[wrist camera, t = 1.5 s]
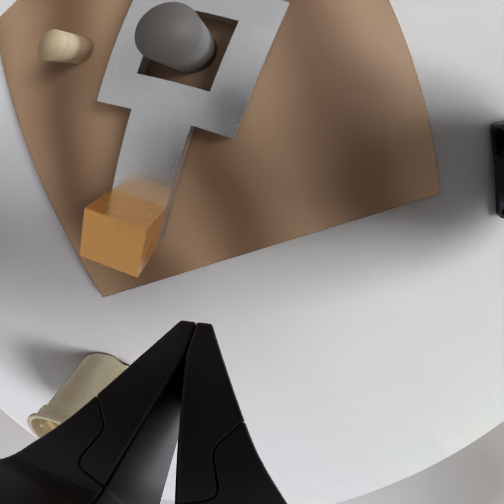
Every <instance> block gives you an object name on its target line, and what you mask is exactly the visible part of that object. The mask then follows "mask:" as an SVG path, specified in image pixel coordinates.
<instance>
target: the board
mask: <svg viewBox="0 0 504 504" xmlns="http://www.w3.org/2000/svg"><path fill="white" fill-rule="evenodd" d="M283 1H286V2H289V3H290V4H289V7H288V11H287V13H286V15H285V17H284V20H283V22H282V24H281V26H280V29H279V31H278V33H277V35H276V38H275V40H274V42H273V45H272V47H271V49H270V52H269V54H268V56H267V59H266V61H265V63H264V66H263V68H262V71H261V73H260V76H259V78H258V80H257V83H256V85H255V88H254V90H253V93H252V95H251V98H250V101H249V103H248V106H247V108H246V111H245V113H244V116H243V119H242V121H241V124H240V126H239V129H238V132H237V134H236V137H235V138H234V139H232V138H229V137H226V136H223V135H220V134H217V133H214V132H211V131H208V130H204V129H201V128H198V127H195V129H194V132H193V135H192V138H191V141H190V144H189V147H188V151H187V154H186V157H185V160H184V163H183V167H182V170H181V173H180V176H179V180H178V183H177V187H176V190H175V194H174V197H173V201H172V204H171V208H170V212H169V215H168V219H167V223H166V227H165V231H164V235H163V239H162V241H161V242H160V244H159V245H158V247H157V248H156V250H155V251H154V253H153V254H152V256H151V257H150V259H149V260H148V262H147V263H146V265H145V266H144V268H143V269H142V271H141V273H140V274H139V276H138V277H134V276H132V275H129V274H126V273H124V272H121V271H118V270H116V269H113V268H111V267H108V266H105V265H103V264H100V263H98V262H95V261H93V260H90V259H88V258H85V257H83V256H80V249H81V236H82V226H83V217H84V209H85V207H86V206H88V205H89V204H91V203H92V202H94V201H95V200H97V199H98V198H100V197H101V196H103V195H104V194H106V193H107V192H109V191H110V190H112V188H113V183H114V178H115V173H116V168H117V164H118V159H119V155H120V151H121V147H122V142H123V139H124V135H125V131H126V127H127V123H128V120H129V116H130V113H131V109H130V108H125V107H121V106H117V105H113V104H108V103H104V102H99V101H97V99H98V95H99V91H100V88H101V85H102V81H103V78H104V75H105V72H106V68H107V65H108V62H109V59H110V57H111V54H112V51H113V48H114V45H115V43H116V40H117V37H118V35H119V32H120V30H121V27H122V25H123V22H124V20H125V18H126V15H127V13H128V11H129V8H130V6H131V4H132V2H133V0H17V1H16V2H15V3H14V4H13V5H12V6H11V7H10V8H9V9H8V10H7V11H6V12H5V13H4V14H3V15H2V16H1V17H0V53H1V58H2V62H3V67H4V71H5V75H6V79H7V83H8V87H9V91H10V95H11V98H12V102H13V105H14V109H15V112H16V115H17V118H18V121H19V124H20V127H21V130H22V133H23V136H24V139H25V142H26V144H27V147H28V150H29V152H30V155H31V158H32V160H33V163H34V165H35V168H36V170H37V173H38V175H39V177H40V180H41V182H42V184H43V187H44V189H45V191H46V193H47V196H48V198H49V200H50V202H51V204H52V206H53V208H54V211H55V213H56V215H57V217H58V219H59V221H60V223H61V225H62V227H63V229H64V231H65V233H66V234H67V236H68V238H69V240H70V242H71V244H72V246H73V248H74V249H75V251H76V253H77V255H78V257H79V258H80V260H81V262H82V264H83V265H84V267H85V269H86V271H87V272H88V274H89V276H90V277H91V279H92V281H93V282H94V284H95V286H96V287H97V289H98V290H99V292H100V294H101V295H102V297H106V296H109V295H112V294H116V293H119V292H122V291H125V290H129V289H132V288H135V287H138V286H142V285H145V284H148V283H151V282H155V281H158V280H161V279H164V278H168V277H171V276H174V275H177V274H181V273H184V272H187V271H190V270H194V269H197V268H200V267H203V266H207V265H210V264H213V263H216V262H220V261H223V260H226V259H229V258H233V257H236V256H239V255H242V254H246V253H249V252H252V251H256V250H259V249H262V248H265V247H269V246H272V245H275V244H278V243H282V242H285V241H288V240H291V239H295V238H298V237H301V236H304V235H308V234H311V233H314V232H317V231H321V230H324V229H327V228H330V227H334V226H337V225H340V224H344V223H347V222H350V221H353V220H357V219H360V218H363V217H366V216H370V215H373V214H376V213H379V212H383V211H386V210H389V209H392V208H396V207H399V206H402V205H405V204H409V203H412V202H415V201H419V200H422V199H425V198H428V197H432V196H435V195H438V194H441V193H440V184H439V176H438V169H437V162H436V156H435V150H434V145H433V139H432V134H431V129H430V124H429V120H428V115H427V111H426V107H425V103H424V99H423V95H422V91H421V88H420V84H419V81H418V77H417V74H416V71H415V67H414V64H413V61H412V58H411V55H410V52H409V49H408V46H407V44H406V41H405V38H404V35H403V33H402V30H401V28H400V25H399V23H398V20H397V18H396V15H395V13H394V11H393V8H392V6H391V4H390V2H389V0H283ZM235 29H236V26H233V25H230V24H226V23H222V22H218V21H214V20H210V19H205V18H201V17H199V16H198V15H197V13H196V12H195V11H194V10H193V9H192V8H191V7H190V6H188V5H186V4H183V3H180V2H166V3H162V4H159V5H157V6H155V7H153V8H151V9H150V10H149V11H147V12H146V13H145V14H144V15H143V16H142V18H141V19H140V20H139V22H138V24H137V26H136V29H135V34H134V39H135V44H136V47H137V49H138V50H139V52H140V53H141V54H142V55H144V56H145V57H147V58H149V59H151V63H150V66H149V68H148V71H147V74H146V75H147V76H151V77H156V78H160V79H164V80H168V81H172V82H176V83H180V84H184V85H188V86H191V87H195V88H199V89H202V90H206V91H209V92H210V90H211V87H212V85H213V82H214V80H215V77H216V74H217V72H218V69H219V67H220V64H221V62H222V59H223V57H224V55H225V52H226V50H227V47H228V45H229V43H230V40H231V38H232V36H233V33H234V31H235Z"/></svg>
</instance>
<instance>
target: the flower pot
mask: <svg viewBox="0 0 504 504" xmlns="http://www.w3.org/2000/svg"><path fill="white" fill-rule="evenodd" d="M128 367H129V366H128V365H124V364H122V363H121V362H119V361H118V360H117V359H116V358H115V357H113V356H110V355H106V354H100V353H94V354H90V355H87V356H86V357H85V358H84V359H83V360H82V362H81V363H80V364H79V366H78V367H77V368H76V369H75V371H74V372H73V373H72V374H71V376H70V377H69V378H68V379H67V381H66V382H65V383H64V384H63V386H62V387H61V388H60V389H59V391H58V392H57V393H56V394H55V396H54V397H53V398H52V399H51V401H50V402H49V403H48V404H47V405H44V406H43V407H42V408H41V409H40V410H39V411H38V413H33V414H31V415H30V416H29V417H28V425H29V427H30V429H31V430H32V432H33V433H34V434H35V435H36V436H37V438H38V439H39V438H41V437H42V436H44V435H45V434H47V433H48V432H50V431H51V430H53V429H54V428H56V427H57V426H58V425H60V424H61V423H63V422H64V421H65V420H67V419H68V418H70V417H71V416H72V415H73V414H75V413H76V412H77V411H78V410H79V409H81V408H82V407H83V406H84V405H85V404H87V403H88V402H89V401H90V400H91V399H92V398H93V397H95V396H96V397H97V394H98V393H99V392H100V391H102V390H103V389H104V388H105V387H106V386H107V385H108V384H110V383H111V382H112V381H113V380H114V379H115V378H116V377H118V376H119V375H120V374H121V373H122V372H123V371H124V370H125V369H127V368H128Z"/></svg>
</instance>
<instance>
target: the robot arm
mask: <svg viewBox="0 0 504 504" xmlns="http://www.w3.org/2000/svg"><path fill="white" fill-rule="evenodd" d="M497 129H498V134H497ZM491 138H492V146H493V155H494V166H495V181H496V212H497V215H498V216H500V217H501V218H504V122H500V123H494V124H493V125H492V126H491ZM502 210H503V211H502ZM177 440H178V450H177V467H176V490H175V504H287V503H286V501H285V500H284V498H283V496H282V495H281V493H280V492H279V490H278V488H277V487H276V485H275V484H274V482H273V480H272V479H271V477H270V475H269V474H268V472H267V470H266V468H265V466H264V465H263V463H262V461H261V459H260V457H259V455H258V453H257V451H256V449H255V446H254V444H253V442H252V439H251V437H250V434H249V432H248V429H247V426H246V424H245V423H244V418H243V416H242V413H241V410H240V407H239V404H238V402H237V399H236V396H235V393H234V390H233V387H232V384H231V381H230V378H229V375H228V372H227V369H226V366H225V363H224V360H223V357H222V354H221V351H220V348H219V345H218V341H217V338H216V335H215V332H214V329H213V326H212V325H211V324H206V323H197V324H196V323H195V322H190V321H180V322H179V323H178V324H176V325H175V326H174V327H173V328H172V329H171V330H170V331H169V332H167V333H166V334H165V335H164V336H163V337H162V338H161V339H159V340H158V341H157V342H156V343H155V344H154V345H153V346H152V347H150V348H149V349H148V350H147V351H146V352H145V353H144V354H142V355H141V356H140V357H139V358H138V359H137V360H136V361H135V362H133V363H132V364H131V365H130V366H129V367H128V368H127V369H125V370H124V371H123V372H122V373H121V374H120V375H119V376H118V377H116V378H115V379H114V380H113V381H112V382H111V383H110V384H108V385H107V386H106V387H105V388H104V389H103V390H102V391H100V392H99V393H98V394H97V397H96V396H95V397H93V398H92V399H91V400H90V401H89V402H88V403H87V404H85V405H84V406H83V407H82V408H81V409H79V410H78V411H77V412H76V413H75V414H73V415H72V416H71V417H70V418H68V419H67V420H65V421H64V422H63V423H61V424H60V425H58V426H57V427H56V428H54V429H53V430H51V431H50V432H48V433H47V434H45V435H44V436H42V437H41V438H39V439H38V440H36V441H35V442H33V443H32V444H30V445H28V446H27V447H26V448H24V449H22V450H21V451H19V452H17V453H16V454H14V455H11V456H9V457H6V458H3V459H0V504H160V501H161V497H162V493H163V490H164V486H165V482H166V479H167V475H168V472H169V468H170V465H171V461H172V457H173V454H174V450H175V447H176V443H177Z"/></svg>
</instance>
